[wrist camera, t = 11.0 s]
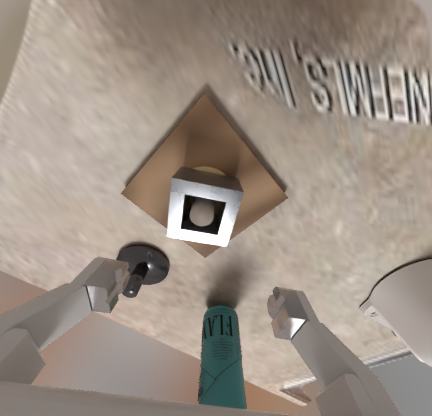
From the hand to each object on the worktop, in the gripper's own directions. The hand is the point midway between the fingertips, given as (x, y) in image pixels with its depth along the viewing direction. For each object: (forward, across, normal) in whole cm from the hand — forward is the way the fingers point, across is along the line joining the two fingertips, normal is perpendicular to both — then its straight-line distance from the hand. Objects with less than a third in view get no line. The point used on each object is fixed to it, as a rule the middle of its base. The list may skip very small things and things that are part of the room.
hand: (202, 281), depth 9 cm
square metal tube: (+10, +1, 0) cm, 10 cm away
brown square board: (+13, +1, 0) cm, 13 cm away
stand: (+12, +9, +14) cm, 21 cm away
